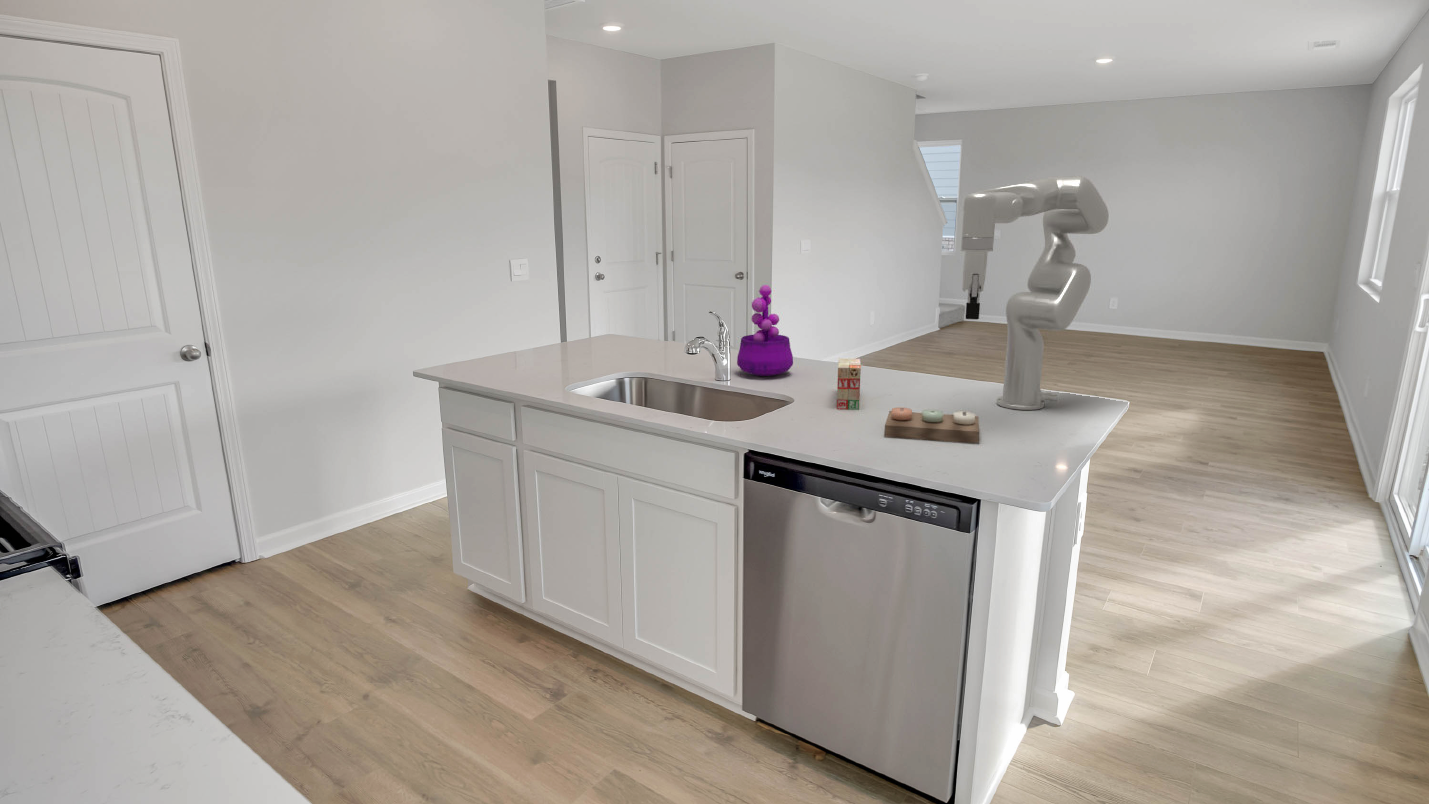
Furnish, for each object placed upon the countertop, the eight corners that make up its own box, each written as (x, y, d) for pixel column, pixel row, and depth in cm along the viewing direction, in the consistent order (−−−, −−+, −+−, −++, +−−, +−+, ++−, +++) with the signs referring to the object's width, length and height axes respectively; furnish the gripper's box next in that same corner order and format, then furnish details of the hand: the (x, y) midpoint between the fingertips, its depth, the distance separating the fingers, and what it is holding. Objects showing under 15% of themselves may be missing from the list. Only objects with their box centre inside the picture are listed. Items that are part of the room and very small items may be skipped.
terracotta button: (912, 415, 198) (912, 407, 197) (911, 420, 193) (911, 412, 193) (892, 414, 199) (892, 406, 199) (890, 419, 195) (890, 411, 194)
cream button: (974, 419, 194) (974, 411, 193) (974, 425, 189) (975, 416, 188) (953, 418, 195) (953, 410, 194) (953, 423, 190) (953, 415, 190)
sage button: (943, 417, 196) (943, 409, 195) (942, 423, 191) (943, 414, 191) (922, 416, 197) (922, 408, 197) (921, 421, 192) (921, 413, 192)
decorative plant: (777, 382, 250) (778, 289, 243) (727, 377, 259) (726, 286, 252) (801, 371, 266) (803, 283, 259) (753, 366, 275) (753, 281, 268)
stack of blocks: (837, 391, 238) (839, 352, 235) (858, 392, 237) (860, 352, 234) (836, 409, 218) (837, 366, 215) (859, 410, 217) (860, 367, 214)
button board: (977, 427, 198) (978, 416, 198) (978, 443, 185) (979, 431, 185) (889, 421, 204) (889, 410, 204) (884, 436, 192) (884, 425, 191)
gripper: (961, 243, 200) (956, 314, 205) (961, 246, 187) (956, 322, 191) (992, 243, 198) (986, 315, 203) (994, 246, 185) (988, 323, 189)
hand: (972, 318), depth 197 cm, fingers closed
